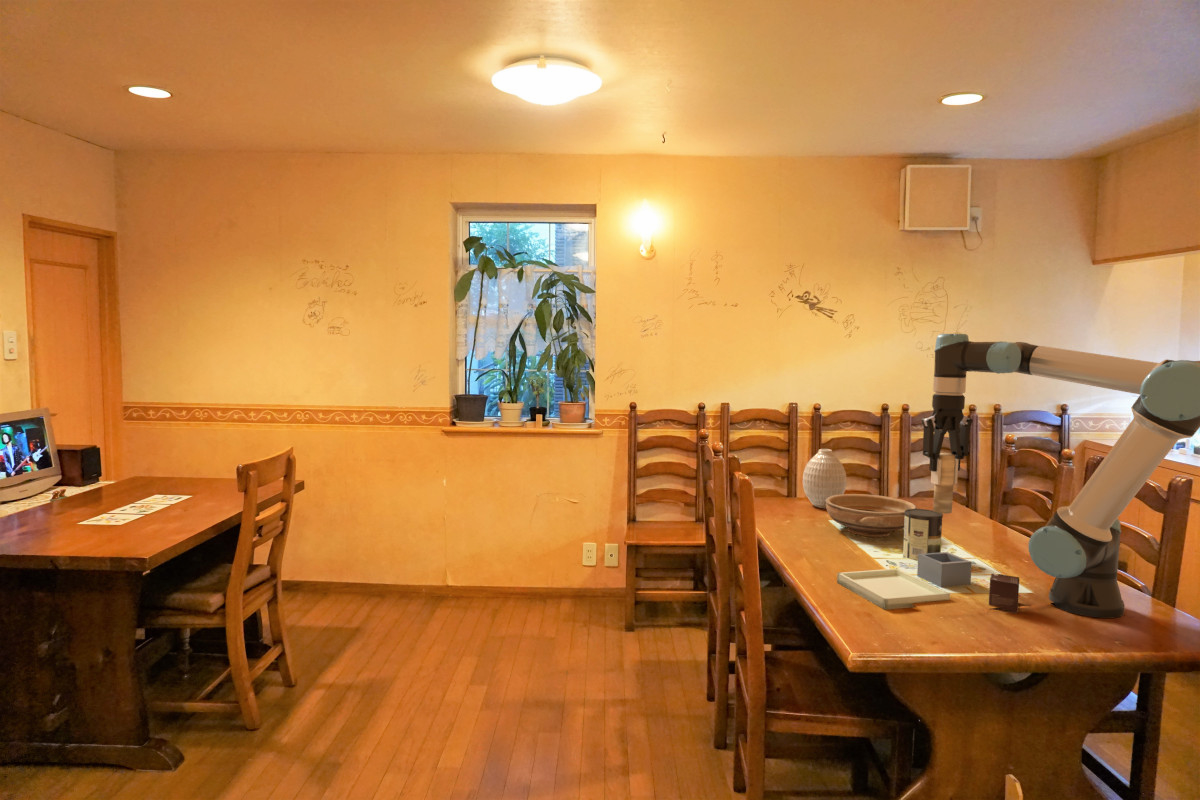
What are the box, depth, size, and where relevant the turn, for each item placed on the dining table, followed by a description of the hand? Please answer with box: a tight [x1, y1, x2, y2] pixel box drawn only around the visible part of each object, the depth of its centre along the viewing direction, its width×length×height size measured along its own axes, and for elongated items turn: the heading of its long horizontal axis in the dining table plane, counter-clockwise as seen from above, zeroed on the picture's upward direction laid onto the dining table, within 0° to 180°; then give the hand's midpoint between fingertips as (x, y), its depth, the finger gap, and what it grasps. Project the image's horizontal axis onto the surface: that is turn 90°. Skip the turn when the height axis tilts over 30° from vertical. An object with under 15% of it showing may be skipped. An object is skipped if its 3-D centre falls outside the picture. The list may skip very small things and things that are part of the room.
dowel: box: [932, 452, 955, 514], centre depth 188 cm, size 4×4×15 cm
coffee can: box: [902, 508, 944, 562], centre depth 211 cm, size 10×10×14 cm
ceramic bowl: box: [825, 493, 918, 538], centre depth 242 cm, size 37×29×10 cm
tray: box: [836, 567, 951, 611], centre depth 183 cm, size 20×18×3 cm
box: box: [988, 573, 1020, 614], centre depth 173 cm, size 6×6×7 cm
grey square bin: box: [916, 551, 973, 588], centre depth 190 cm, size 9×9×7 cm
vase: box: [802, 448, 847, 509], centre depth 280 cm, size 16×16×22 cm
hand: (943, 483), depth 188 cm, fingers closed on dowel, 4 cm apart
